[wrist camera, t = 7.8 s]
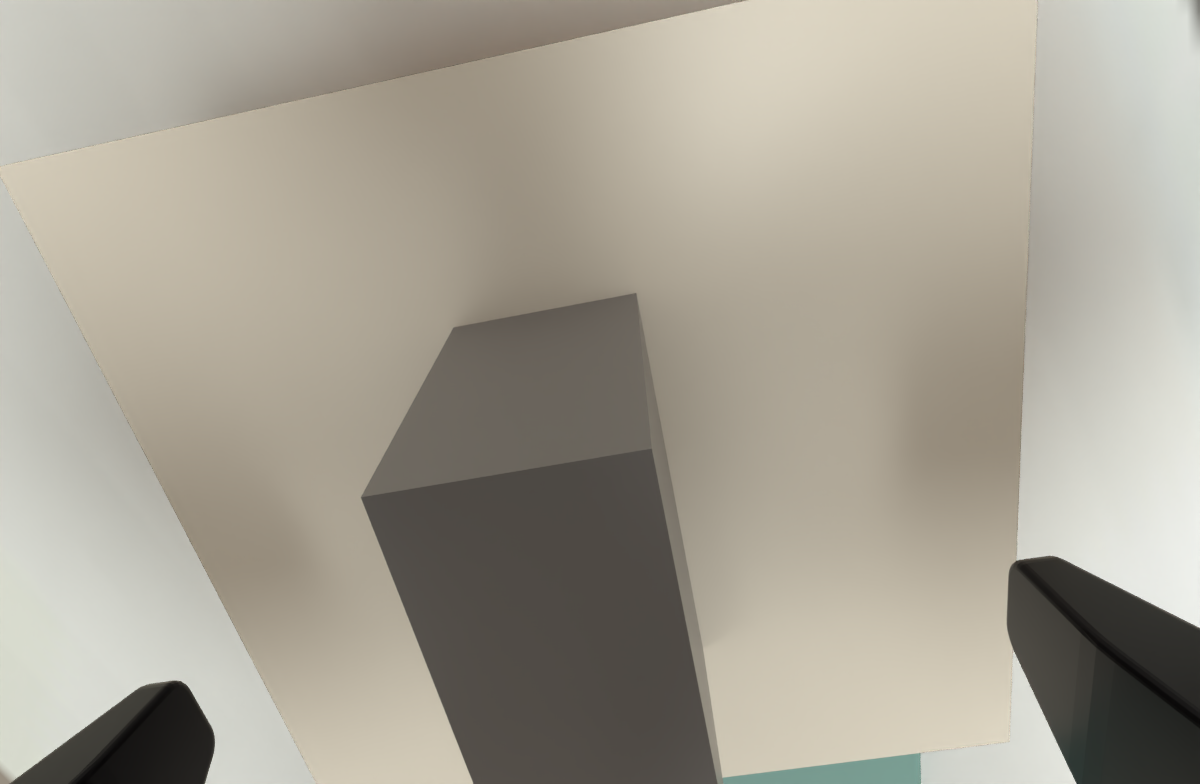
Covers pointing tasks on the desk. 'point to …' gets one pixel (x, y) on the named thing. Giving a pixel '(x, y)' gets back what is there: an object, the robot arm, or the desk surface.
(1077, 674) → the robot arm
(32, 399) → the desk surface
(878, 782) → the mat
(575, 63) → the lid
